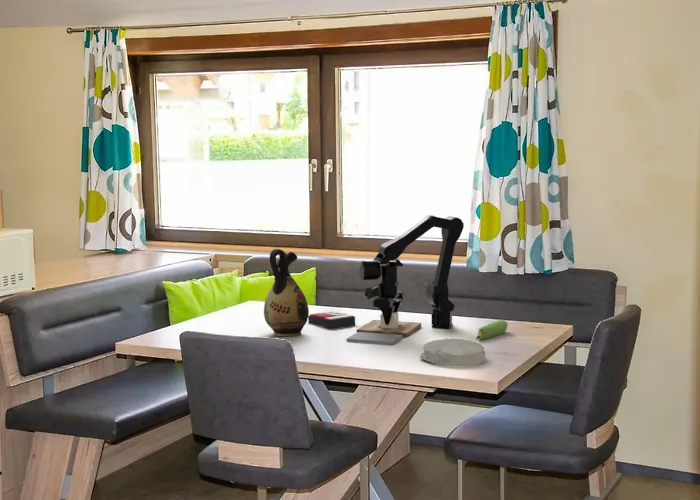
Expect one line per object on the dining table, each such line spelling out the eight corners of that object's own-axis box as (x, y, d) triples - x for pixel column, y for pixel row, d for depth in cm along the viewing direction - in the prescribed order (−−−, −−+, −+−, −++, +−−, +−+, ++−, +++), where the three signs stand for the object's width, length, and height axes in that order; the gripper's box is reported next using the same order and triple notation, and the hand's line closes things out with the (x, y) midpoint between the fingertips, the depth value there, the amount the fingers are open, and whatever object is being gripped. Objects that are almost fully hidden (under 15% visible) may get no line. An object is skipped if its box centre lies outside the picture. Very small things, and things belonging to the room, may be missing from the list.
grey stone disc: (488, 354, 270) (488, 332, 269) (484, 368, 250) (484, 345, 250) (425, 352, 274) (424, 331, 274) (415, 366, 255) (415, 343, 254)
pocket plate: (421, 326, 309) (421, 322, 309) (406, 337, 292) (406, 332, 292) (373, 323, 315) (373, 319, 315) (356, 333, 299) (356, 329, 298)
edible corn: (512, 320, 298) (501, 315, 301) (481, 332, 283) (470, 326, 286) (509, 334, 300) (498, 328, 302) (477, 346, 285) (466, 340, 287)
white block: (398, 329, 305) (398, 312, 305) (394, 332, 301) (394, 315, 300) (385, 328, 307) (384, 311, 306) (380, 331, 302) (380, 314, 302)
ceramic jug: (283, 327, 310) (282, 244, 306) (317, 332, 301) (316, 247, 297) (251, 336, 296) (249, 249, 292) (286, 341, 287) (285, 252, 283)
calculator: (332, 310, 325) (355, 314, 313) (332, 321, 325) (355, 326, 313) (307, 313, 319) (330, 317, 306) (308, 325, 319) (330, 329, 307)
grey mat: (402, 338, 291) (402, 335, 291) (392, 344, 281) (392, 341, 281) (357, 334, 297) (357, 331, 297) (346, 341, 287) (346, 338, 286)
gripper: (376, 274, 313) (376, 317, 315) (358, 282, 296) (358, 327, 298) (405, 275, 309) (405, 318, 311) (389, 283, 292) (389, 329, 294)
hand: (389, 323), depth 303 cm, fingers closed on white block, 5 cm apart
